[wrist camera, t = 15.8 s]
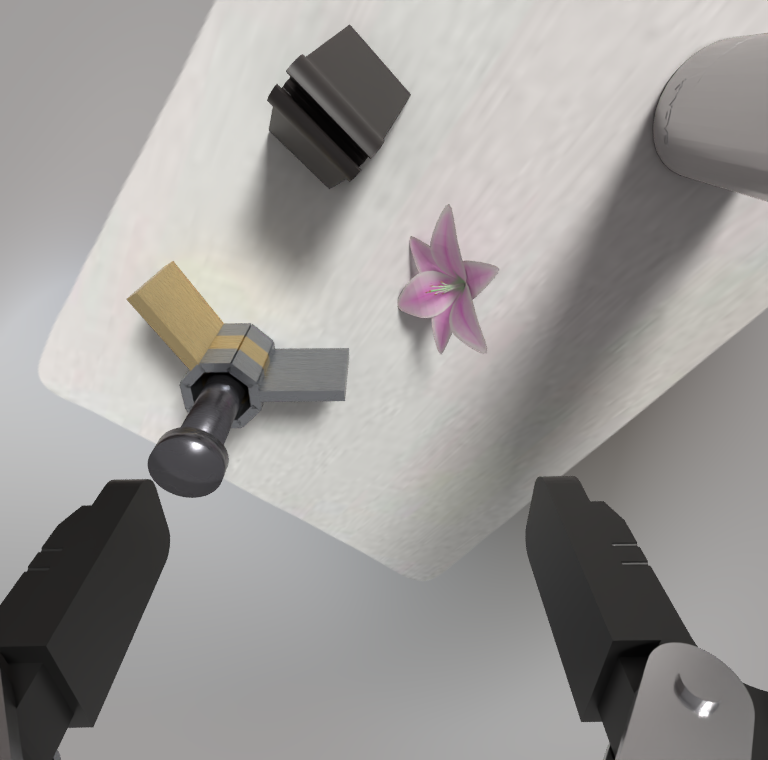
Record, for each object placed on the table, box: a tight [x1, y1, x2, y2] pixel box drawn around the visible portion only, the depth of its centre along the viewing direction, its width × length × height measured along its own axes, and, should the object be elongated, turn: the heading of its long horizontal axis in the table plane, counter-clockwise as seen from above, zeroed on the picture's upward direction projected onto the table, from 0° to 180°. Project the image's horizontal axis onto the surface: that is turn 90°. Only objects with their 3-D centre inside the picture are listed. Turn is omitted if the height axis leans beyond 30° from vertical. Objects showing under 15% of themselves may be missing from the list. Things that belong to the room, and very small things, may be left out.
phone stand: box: [267, 25, 411, 189], centre depth 32 cm, size 9×6×12 cm, turn 136°
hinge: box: [127, 261, 349, 428], centre depth 42 cm, size 15×12×8 cm
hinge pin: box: [148, 372, 248, 498], centre depth 40 cm, size 5×5×16 cm
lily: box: [398, 204, 499, 354], centre depth 41 cm, size 11×11×9 cm
